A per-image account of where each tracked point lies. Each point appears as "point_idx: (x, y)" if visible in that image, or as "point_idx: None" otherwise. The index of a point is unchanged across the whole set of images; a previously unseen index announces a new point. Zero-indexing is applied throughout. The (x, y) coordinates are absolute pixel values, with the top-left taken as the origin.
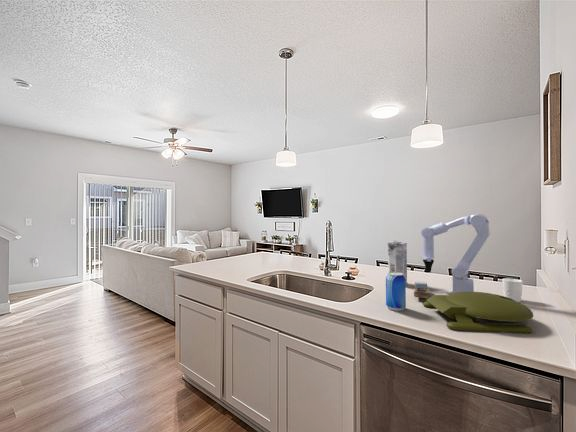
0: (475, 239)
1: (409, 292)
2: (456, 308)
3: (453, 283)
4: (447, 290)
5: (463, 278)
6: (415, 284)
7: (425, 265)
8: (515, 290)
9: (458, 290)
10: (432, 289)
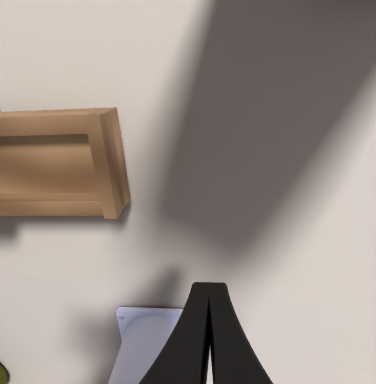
0: None
1: (42, 59)
2: None
3: (126, 375)
4: (237, 296)
5: None
6: (31, 120)
7: (150, 372)
8: None
9: (118, 353)
10: (228, 221)
